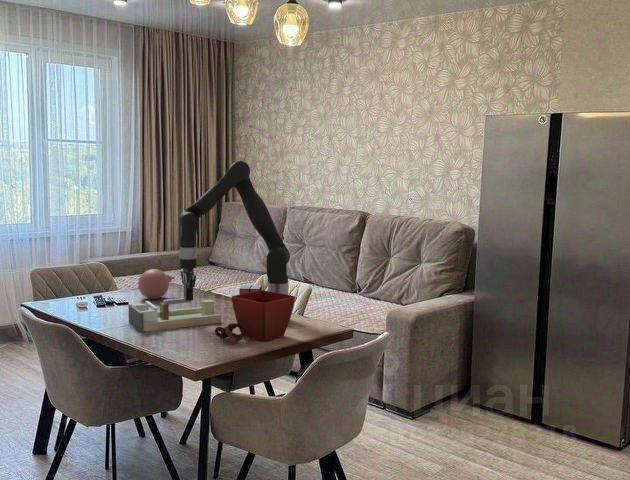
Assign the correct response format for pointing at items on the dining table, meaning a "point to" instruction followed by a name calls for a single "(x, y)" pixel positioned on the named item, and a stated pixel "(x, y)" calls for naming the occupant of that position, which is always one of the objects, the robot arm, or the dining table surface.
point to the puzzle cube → (249, 288)
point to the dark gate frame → (165, 305)
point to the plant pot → (263, 313)
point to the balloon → (154, 283)
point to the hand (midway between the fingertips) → (188, 295)
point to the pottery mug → (230, 332)
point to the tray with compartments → (171, 316)
